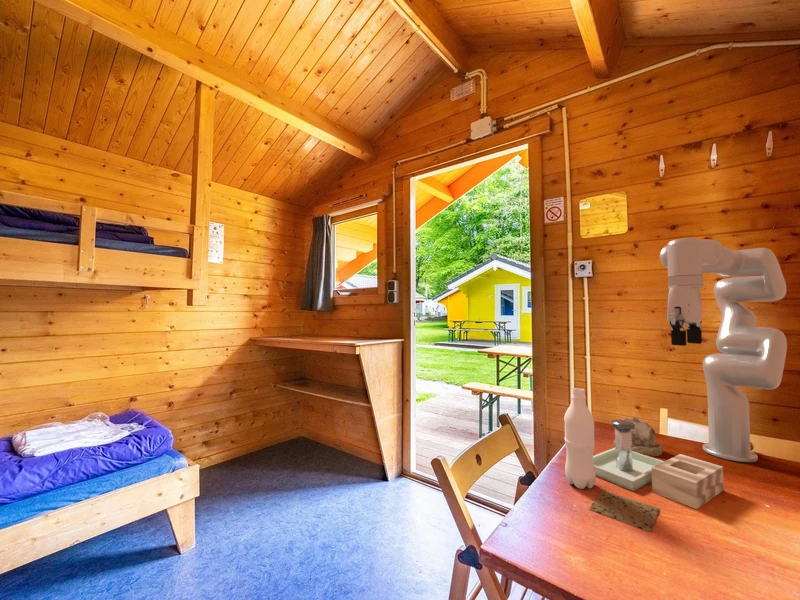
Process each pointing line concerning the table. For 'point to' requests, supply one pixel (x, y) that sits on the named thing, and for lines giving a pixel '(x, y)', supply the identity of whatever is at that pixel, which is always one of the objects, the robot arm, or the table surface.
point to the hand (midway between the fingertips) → (686, 344)
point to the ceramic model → (644, 438)
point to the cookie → (626, 510)
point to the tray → (628, 480)
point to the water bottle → (579, 442)
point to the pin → (623, 444)
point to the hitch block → (687, 480)
